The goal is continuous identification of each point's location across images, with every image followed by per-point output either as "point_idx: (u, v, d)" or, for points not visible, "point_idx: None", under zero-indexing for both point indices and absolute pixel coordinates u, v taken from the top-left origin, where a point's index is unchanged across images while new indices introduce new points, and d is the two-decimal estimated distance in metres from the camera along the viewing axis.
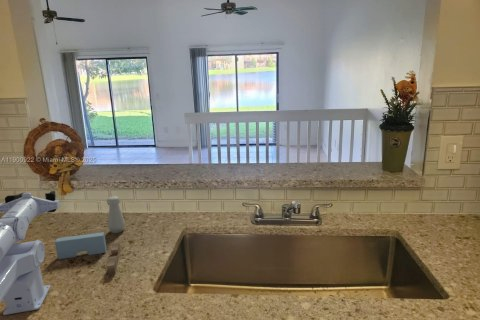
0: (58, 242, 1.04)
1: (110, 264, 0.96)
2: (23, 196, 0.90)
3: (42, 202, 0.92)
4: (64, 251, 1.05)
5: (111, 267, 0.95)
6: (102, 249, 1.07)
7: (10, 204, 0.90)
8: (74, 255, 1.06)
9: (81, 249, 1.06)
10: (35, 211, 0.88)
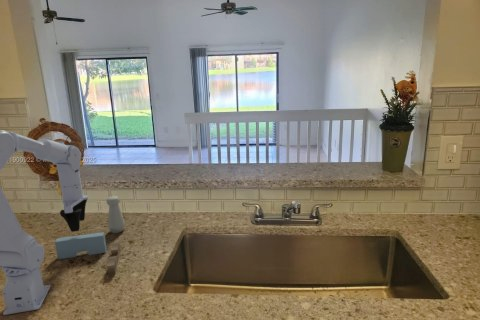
0: (58, 242, 1.04)
1: (110, 264, 0.96)
2: (85, 195, 1.04)
3: (74, 203, 1.00)
4: (64, 251, 1.05)
5: (111, 267, 0.95)
6: (102, 249, 1.07)
7: None
8: (74, 255, 1.06)
9: (81, 249, 1.06)
10: (69, 190, 0.99)
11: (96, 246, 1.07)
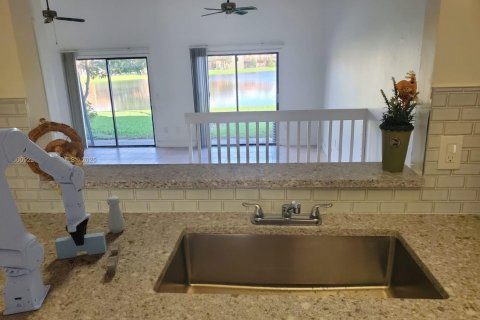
0: (58, 242, 1.04)
1: (110, 264, 0.96)
2: (87, 213, 1.05)
3: (77, 221, 1.01)
4: (64, 251, 1.05)
5: (111, 267, 0.95)
6: (102, 249, 1.07)
7: None
8: (74, 255, 1.06)
9: (81, 249, 1.06)
10: (72, 209, 1.01)
11: (96, 246, 1.07)
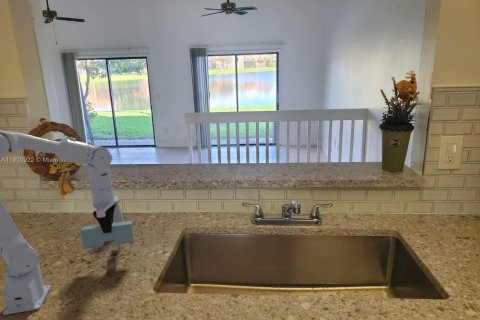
0: (84, 230, 0.97)
1: (110, 264, 0.96)
2: (115, 199, 0.99)
3: (105, 206, 0.95)
4: (90, 240, 0.98)
5: (111, 267, 0.95)
6: (130, 238, 1.01)
7: None
8: (100, 245, 0.99)
9: (108, 238, 0.99)
10: (100, 193, 0.94)
11: (124, 235, 1.00)
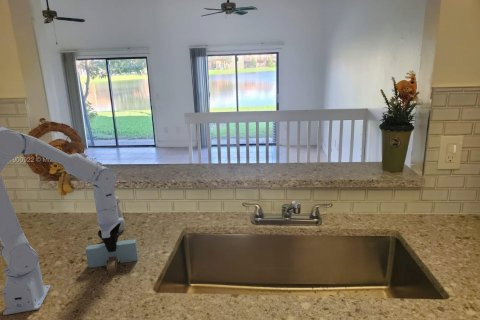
0: (89, 250, 0.98)
1: (110, 264, 0.96)
2: (120, 218, 1.00)
3: (110, 226, 0.96)
4: (95, 259, 0.99)
5: (111, 267, 0.95)
6: (134, 257, 1.02)
7: None
8: (105, 263, 1.00)
9: None
10: (105, 214, 0.95)
11: (128, 254, 1.01)
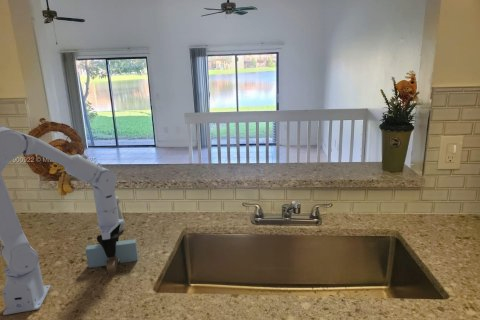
0: (89, 249, 0.98)
1: (110, 264, 0.96)
2: (120, 219, 1.00)
3: (110, 228, 0.96)
4: (95, 259, 0.99)
5: (111, 267, 0.95)
6: (134, 257, 1.02)
7: None
8: (105, 263, 1.00)
9: None
10: (106, 215, 0.95)
11: (128, 254, 1.01)
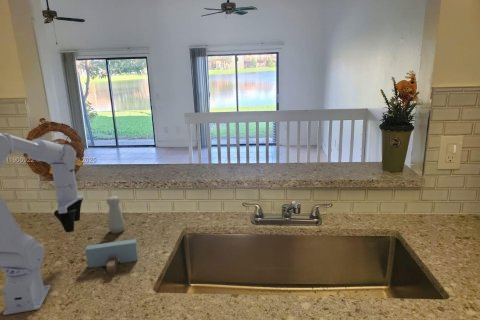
0: (89, 249, 0.98)
1: (110, 264, 0.96)
2: None
3: (68, 203, 0.98)
4: (95, 259, 0.99)
5: (111, 267, 0.95)
6: (134, 257, 1.02)
7: None
8: (105, 263, 1.00)
9: None
10: (63, 190, 0.98)
11: (128, 254, 1.01)
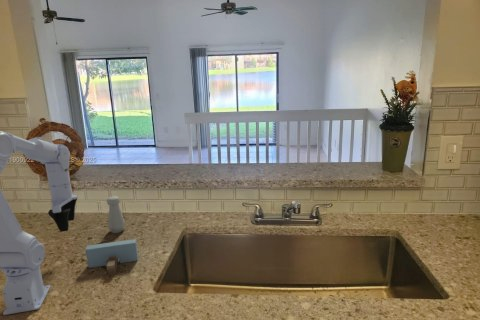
0: (89, 249, 0.98)
1: (110, 264, 0.96)
2: (74, 195, 1.03)
3: None
4: (95, 259, 0.99)
5: (111, 267, 0.95)
6: (134, 257, 1.02)
7: None
8: (105, 263, 1.00)
9: None
10: (58, 190, 0.98)
11: (128, 254, 1.01)
